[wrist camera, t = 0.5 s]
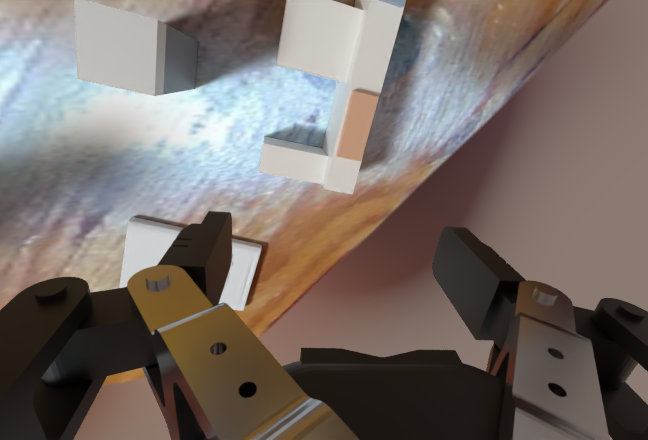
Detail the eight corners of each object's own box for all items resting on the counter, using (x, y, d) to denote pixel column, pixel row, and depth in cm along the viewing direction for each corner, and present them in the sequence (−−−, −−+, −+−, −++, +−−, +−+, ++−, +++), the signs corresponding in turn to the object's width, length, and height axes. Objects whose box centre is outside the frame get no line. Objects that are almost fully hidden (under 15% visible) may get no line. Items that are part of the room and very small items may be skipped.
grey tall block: (149, 28, 25) (74, -3, 15) (198, 41, 26) (157, 19, 16) (148, 77, 26) (77, 78, 16) (194, 88, 27) (154, 96, 17)
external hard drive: (134, 214, 31) (262, 242, 34) (124, 284, 34) (243, 304, 37) (127, 221, 30) (261, 249, 33) (118, 293, 32) (242, 313, 36)
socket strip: (308, -144, 23) (321, -207, 18) (411, -100, 25) (449, -145, 19) (259, 162, 31) (258, 179, 25) (340, 177, 32) (354, 196, 27)
